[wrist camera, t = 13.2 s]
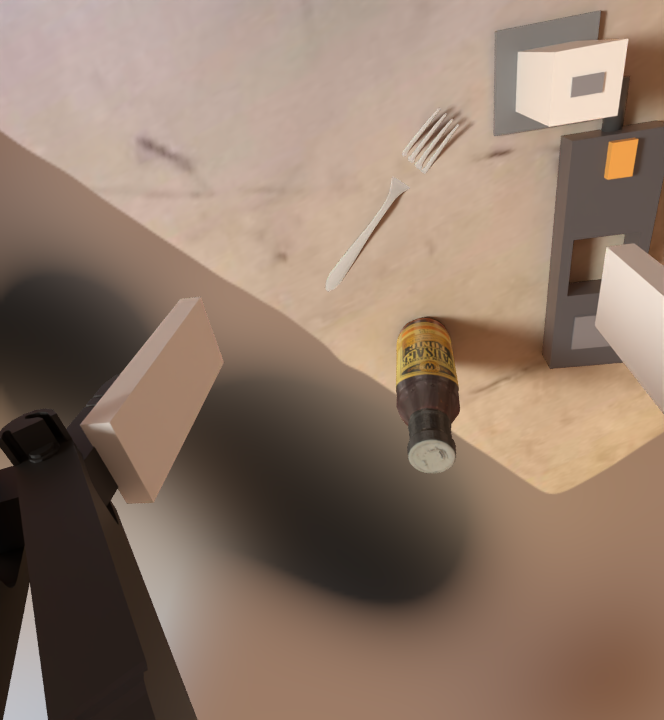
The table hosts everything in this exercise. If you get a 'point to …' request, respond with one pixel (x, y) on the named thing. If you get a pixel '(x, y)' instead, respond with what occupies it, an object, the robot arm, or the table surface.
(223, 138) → the table surface
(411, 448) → the sauce bottle
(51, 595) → the robot arm
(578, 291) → the power strip
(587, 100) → the block
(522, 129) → the mat
